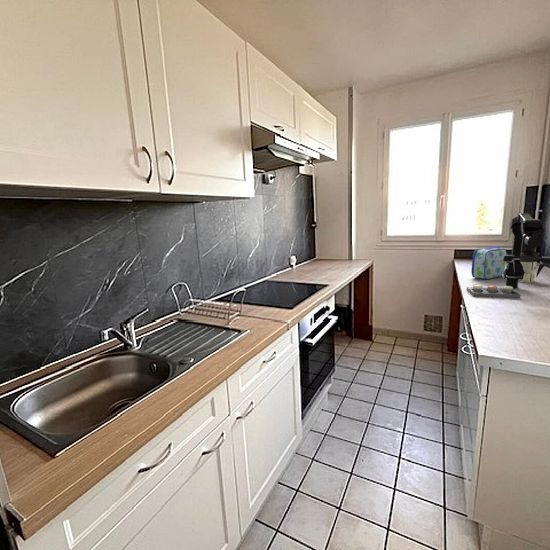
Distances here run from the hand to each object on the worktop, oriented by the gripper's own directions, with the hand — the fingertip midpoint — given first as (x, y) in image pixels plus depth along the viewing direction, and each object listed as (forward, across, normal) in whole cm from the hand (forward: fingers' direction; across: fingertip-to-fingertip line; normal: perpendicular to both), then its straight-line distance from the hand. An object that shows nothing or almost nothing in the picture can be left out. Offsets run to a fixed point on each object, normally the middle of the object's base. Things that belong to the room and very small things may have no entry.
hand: (524, 275), depth 156 cm
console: (+13, -13, +2) cm, 18 cm away
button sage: (+11, -7, +4) cm, 13 cm away
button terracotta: (+11, -13, +2) cm, 17 cm away
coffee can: (+14, -2, +53) cm, 55 cm away
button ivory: (+11, -20, -1) cm, 22 cm away
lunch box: (+14, -21, +53) cm, 59 cm away
